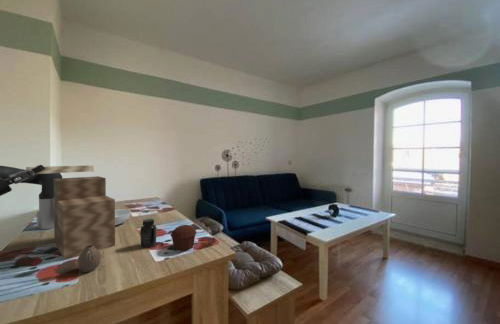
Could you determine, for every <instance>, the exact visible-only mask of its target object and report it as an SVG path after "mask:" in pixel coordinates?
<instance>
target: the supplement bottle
mask: <svg viewBox="0 0 500 324" xmlns="http://www.w3.org/2000/svg"><path fill="white" fill-rule="evenodd" d="M139 230H140V247H142V248H151V247H153V246H156V244H157V225H156V224H155V219H154V218H147V219H143V221H142V226H141V227H140V229H139Z"/></svg>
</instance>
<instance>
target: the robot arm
mask: <svg viewBox="0 0 500 324" xmlns="http://www.w3.org/2000/svg"><path fill="white" fill-rule="evenodd" d="M34 167H35V168H33V169H32V170H31V169H29V170H28V171H26V169H24V168H23V169H22V168H17V167H12V166H6V165H0V197H1V196H3V195H5V194H8V193H9V192H12V190H13V189H12V187H11V185H13V184H15V185H18V184H32V185H39V186H41V191H40V193H39V194H38V211H37V212H36V228H37V229H39V230H47V229H48V230H50V229H54V179H60V178H63V175H62V173H46V174H35V173H38V172H40V171H42V170H44V169H45V168H44V167H45V166H44V165H42V164H39V165H36V166H34ZM26 173H27V174H26Z"/></svg>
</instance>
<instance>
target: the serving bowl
mask: <svg viewBox="0 0 500 324" xmlns="http://www.w3.org/2000/svg"><path fill="white" fill-rule="evenodd" d="M131 213H132V211H131V210H130V209H122V208H121V209H115V226H118V225H120V224H122V223H125V222H126V221H128V220H129V218H130V217H131Z"/></svg>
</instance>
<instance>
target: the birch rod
mask: <svg viewBox="0 0 500 324" xmlns="http://www.w3.org/2000/svg"><path fill="white" fill-rule="evenodd" d="M35 167H36V166H26V167H25V170H26V171H28V170H29V169H31V170H32V169H33V168H35ZM43 167H44V168H45V169H44V170H42V171H40V172H38V173H35V174H46V173H60V174H64V173H66V174H67V173H69V174H70V173H87V172H89V173H90V172H94V169H95V168H94V165H91V164H90V165H89V164H87V165H56V166H55V165H53V166H51V165H48V166H43ZM26 174H27V173H26Z"/></svg>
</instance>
